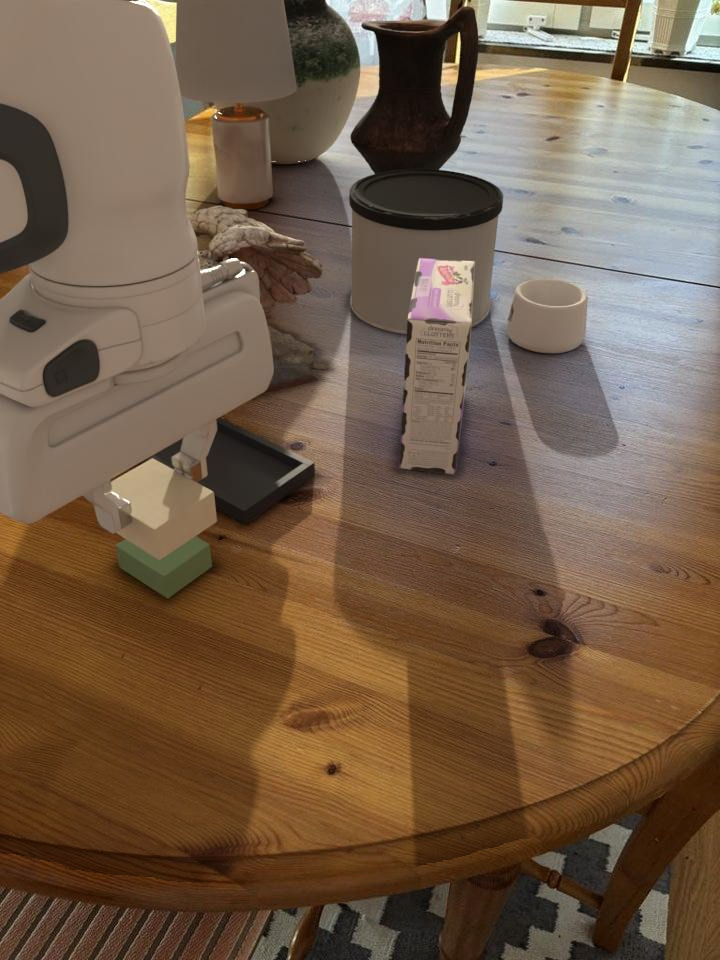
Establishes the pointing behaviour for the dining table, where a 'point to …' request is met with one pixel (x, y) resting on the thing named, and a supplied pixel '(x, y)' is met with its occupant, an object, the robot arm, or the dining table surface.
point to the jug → (417, 93)
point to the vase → (313, 84)
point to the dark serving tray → (246, 471)
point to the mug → (548, 316)
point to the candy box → (436, 364)
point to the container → (418, 238)
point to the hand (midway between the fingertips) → (154, 501)
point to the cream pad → (163, 507)
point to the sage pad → (166, 565)
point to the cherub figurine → (265, 278)
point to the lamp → (236, 85)
